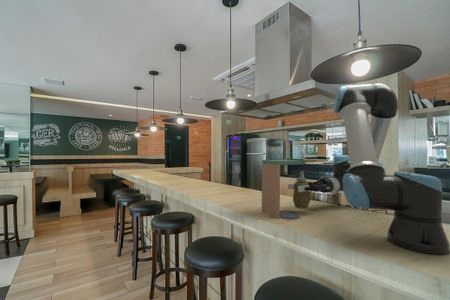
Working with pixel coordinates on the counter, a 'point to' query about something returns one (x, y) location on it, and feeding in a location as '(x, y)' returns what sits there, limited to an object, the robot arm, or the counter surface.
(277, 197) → the green-topped pedestal
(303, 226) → the counter surface
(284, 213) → the coaster
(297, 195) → the squeeze bottle
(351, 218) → the counter surface
